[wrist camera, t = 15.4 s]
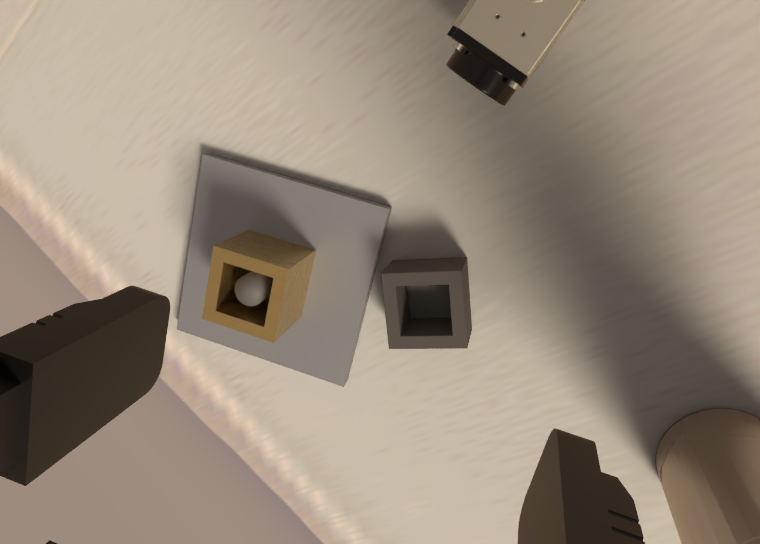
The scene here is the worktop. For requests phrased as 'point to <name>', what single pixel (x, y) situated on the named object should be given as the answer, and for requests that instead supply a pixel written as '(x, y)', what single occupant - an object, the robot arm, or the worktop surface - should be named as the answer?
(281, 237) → the post block
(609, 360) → the worktop surface
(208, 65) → the worktop surface
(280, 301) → the brass collar
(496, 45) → the pneumatic valve
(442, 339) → the grey hollow square block
